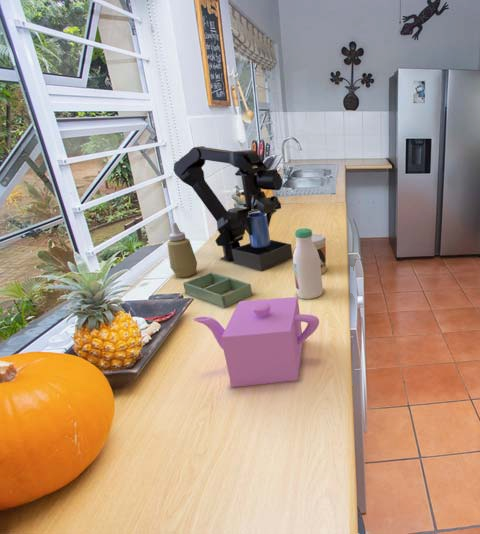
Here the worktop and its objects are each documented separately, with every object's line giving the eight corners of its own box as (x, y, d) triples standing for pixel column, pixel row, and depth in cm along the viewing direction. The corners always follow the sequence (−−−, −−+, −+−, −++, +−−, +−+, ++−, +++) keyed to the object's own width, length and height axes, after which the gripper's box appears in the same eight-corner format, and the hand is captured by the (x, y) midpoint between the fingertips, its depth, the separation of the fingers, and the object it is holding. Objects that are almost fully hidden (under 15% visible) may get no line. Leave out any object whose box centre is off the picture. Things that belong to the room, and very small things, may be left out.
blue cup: (246, 245, 138) (241, 215, 134) (261, 240, 144) (257, 211, 139) (259, 248, 135) (254, 218, 131) (274, 243, 140) (270, 213, 136)
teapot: (215, 348, 90) (203, 294, 85) (323, 337, 94) (318, 285, 89) (193, 391, 77) (177, 330, 71) (321, 377, 80) (315, 318, 75)
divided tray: (185, 293, 118) (183, 282, 116) (213, 281, 125) (211, 272, 124) (224, 307, 109) (222, 296, 107) (252, 294, 116) (250, 284, 115)
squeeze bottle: (204, 272, 133) (193, 221, 126) (183, 280, 126) (170, 227, 119) (188, 268, 136) (176, 218, 129) (167, 276, 129) (153, 225, 122)
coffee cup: (322, 277, 128) (318, 242, 123) (295, 275, 130) (291, 241, 125) (332, 266, 136) (329, 234, 132) (307, 265, 138) (304, 232, 133)
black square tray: (234, 263, 140) (231, 249, 138) (265, 251, 152) (263, 238, 149) (261, 271, 133) (259, 256, 131) (292, 258, 145) (291, 244, 142)
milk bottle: (327, 290, 119) (322, 227, 111) (314, 301, 112) (307, 235, 104) (305, 286, 121) (299, 225, 114) (291, 297, 114) (283, 232, 107)
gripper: (245, 196, 120) (252, 243, 126) (289, 186, 135) (294, 229, 141) (222, 192, 126) (230, 238, 132) (267, 183, 141) (273, 225, 146)
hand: (258, 232), depth 138 cm, fingers closed on blue cup, 7 cm apart
